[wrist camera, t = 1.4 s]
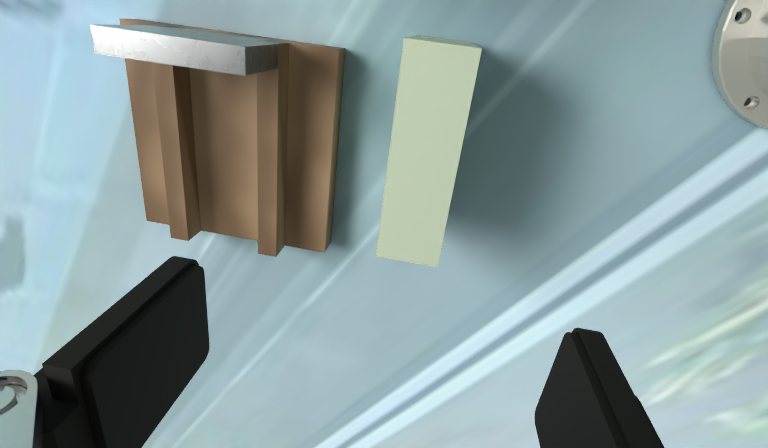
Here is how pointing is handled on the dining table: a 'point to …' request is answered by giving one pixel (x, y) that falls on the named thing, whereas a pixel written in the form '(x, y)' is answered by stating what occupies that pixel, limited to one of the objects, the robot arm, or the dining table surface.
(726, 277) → the dining table surface
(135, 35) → the bookend
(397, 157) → the pale green foam block
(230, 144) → the wooden slotted rack
